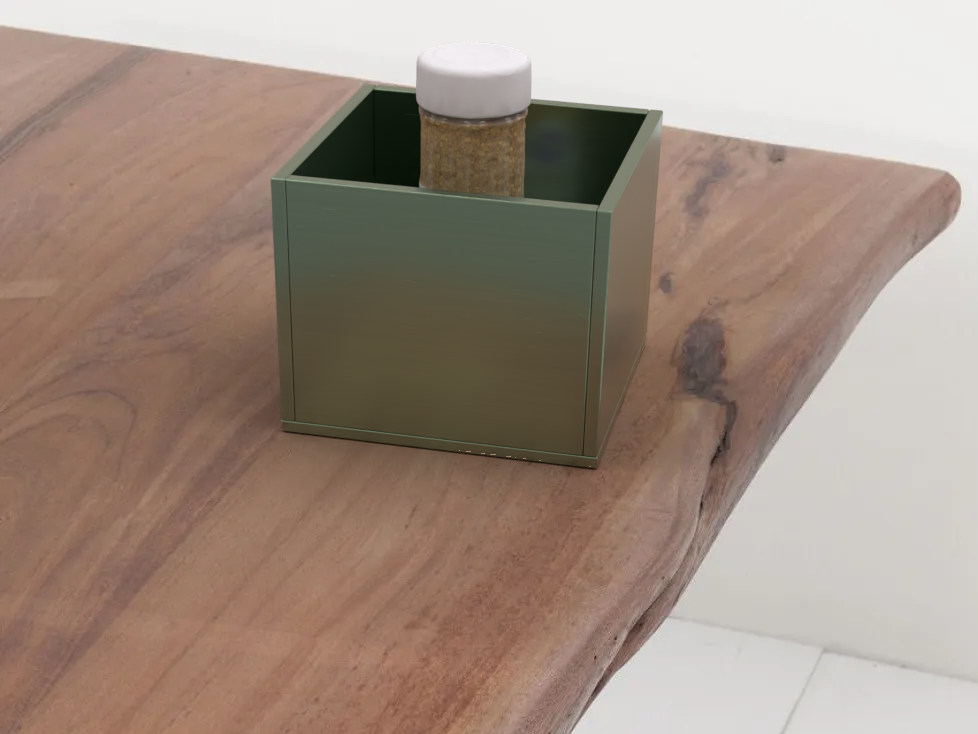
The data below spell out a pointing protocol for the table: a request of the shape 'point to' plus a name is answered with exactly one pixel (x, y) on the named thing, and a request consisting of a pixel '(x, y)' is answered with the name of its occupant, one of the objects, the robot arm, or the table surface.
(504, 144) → the sprinkles bottle
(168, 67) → the table surface
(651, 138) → the bin
